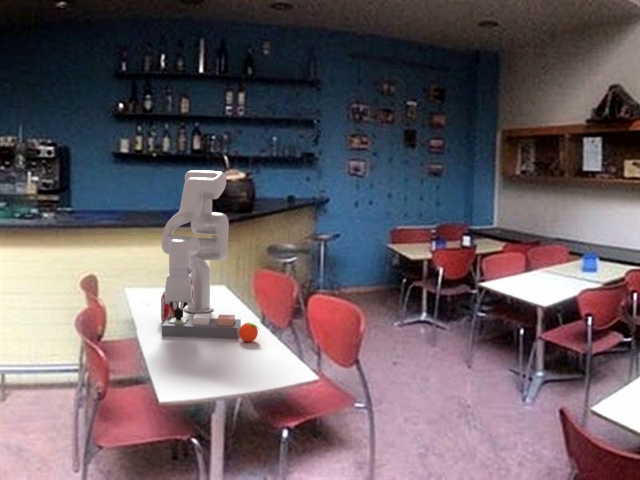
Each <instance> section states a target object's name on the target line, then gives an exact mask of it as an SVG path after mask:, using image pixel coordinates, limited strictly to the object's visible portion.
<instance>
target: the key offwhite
mask: <svg viewBox="0 0 640 480" xmlns="http://www.w3.org/2000/svg"><path fill="white" fill-rule="evenodd" d="M192 318H193V324H194V325H210V323H211V318H212V313H210V314H209V313H194V316H193V317H192Z"/></svg>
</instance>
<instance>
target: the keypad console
mask: <svg viewBox="0 0 640 480" xmlns="http://www.w3.org/2000/svg"><path fill="white" fill-rule="evenodd" d="M172 318H176V317H168V318H167V320H166V321H165V322H162V325H161V336H162V337H182V338H183V337H184V338H185V337H186V338H187V337H189V338H213V339H217V338H218V339H238V338H239V330H240V327H241V326H242V325H241V323H242V321H241V318H239V319H236V318H235V324H234V326H221V325H217V318H212V317H211V323H210V325H194V324H193V317H189V316H188V317H186V316H185V317H184V316H183V317H182V318H188V321H187V323H186V324H169V321H170V320H171V319H172Z"/></svg>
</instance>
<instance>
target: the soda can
mask: <svg viewBox="0 0 640 480" xmlns="http://www.w3.org/2000/svg"><path fill="white" fill-rule="evenodd" d="M164 302H165V291H163V292H162V295H161V299H160V318H161V321H162V323H164V322H165V321H166V320H167V318H168V317H175V316H174V313H175V310H174V309H173V307H172V306H171V305H169V304H165V303H164ZM178 307H179V308H180V302H178Z"/></svg>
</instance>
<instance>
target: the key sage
mask: <svg viewBox="0 0 640 480" xmlns="http://www.w3.org/2000/svg"><path fill="white" fill-rule="evenodd" d="M188 318H189V317H188ZM188 318H181V320H176V318H172V319H171V320H170V321H169V324H186V323H187V321H188Z"/></svg>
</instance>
